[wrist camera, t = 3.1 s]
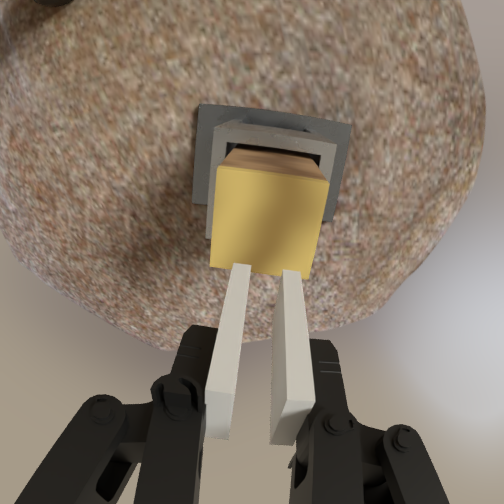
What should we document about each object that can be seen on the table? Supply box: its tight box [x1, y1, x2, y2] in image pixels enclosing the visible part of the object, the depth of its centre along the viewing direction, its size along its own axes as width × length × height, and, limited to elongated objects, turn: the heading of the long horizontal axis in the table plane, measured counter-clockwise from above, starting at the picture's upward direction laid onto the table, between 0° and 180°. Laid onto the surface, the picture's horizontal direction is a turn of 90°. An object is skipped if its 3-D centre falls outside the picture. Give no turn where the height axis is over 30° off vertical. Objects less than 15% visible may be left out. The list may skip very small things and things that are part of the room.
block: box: [210, 143, 330, 279], centre depth 26 cm, size 7×7×14 cm
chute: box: [192, 104, 352, 239], centre depth 34 cm, size 20×14×15 cm
